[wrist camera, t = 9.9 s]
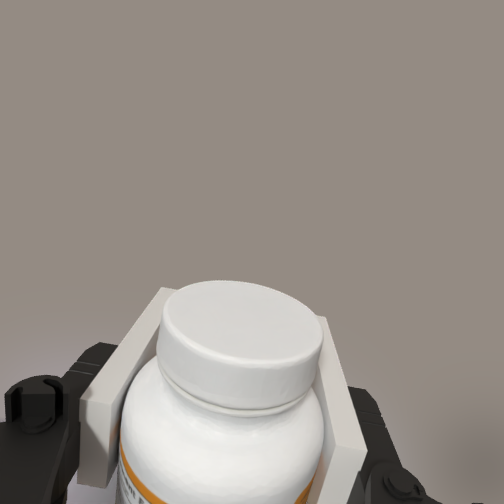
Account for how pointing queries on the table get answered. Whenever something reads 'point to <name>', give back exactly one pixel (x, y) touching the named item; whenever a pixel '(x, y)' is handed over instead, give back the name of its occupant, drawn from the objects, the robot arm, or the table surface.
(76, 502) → the table surface
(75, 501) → the table surface
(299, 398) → the supplement bottle
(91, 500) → the table surface
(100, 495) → the table surface
